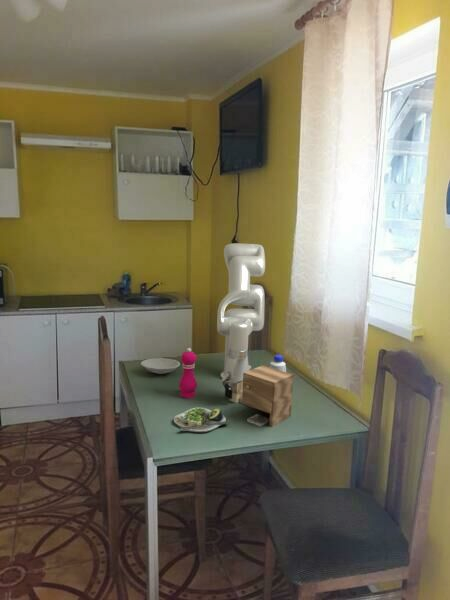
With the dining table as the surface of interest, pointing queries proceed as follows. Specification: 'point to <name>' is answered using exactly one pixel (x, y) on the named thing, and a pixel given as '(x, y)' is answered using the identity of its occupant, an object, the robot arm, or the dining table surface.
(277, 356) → the bottle
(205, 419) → the salad plate
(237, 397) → the beige mallet
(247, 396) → the wooden box
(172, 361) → the dish
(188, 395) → the pepper mill
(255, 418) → the gray rectangular block
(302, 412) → the dining table surface
